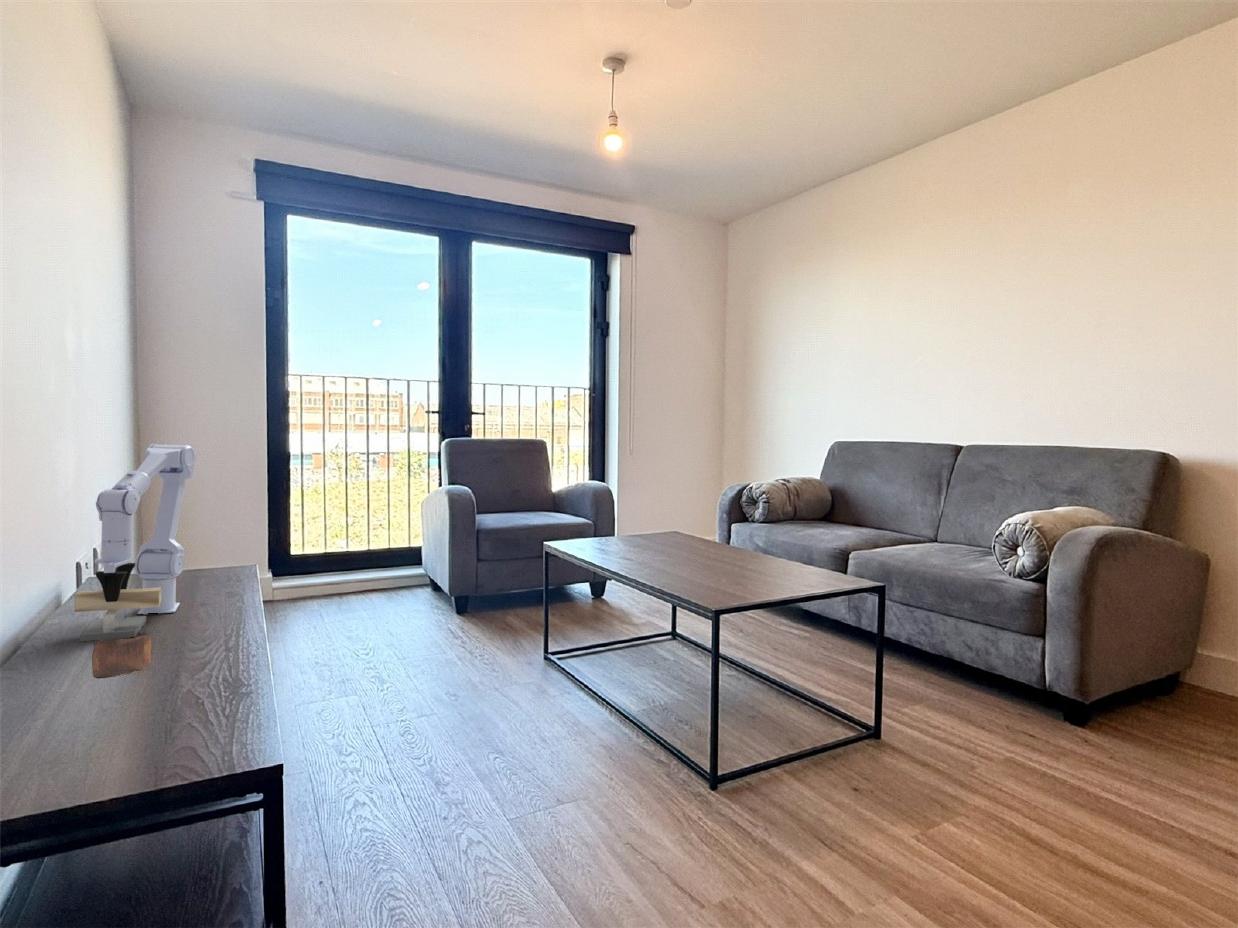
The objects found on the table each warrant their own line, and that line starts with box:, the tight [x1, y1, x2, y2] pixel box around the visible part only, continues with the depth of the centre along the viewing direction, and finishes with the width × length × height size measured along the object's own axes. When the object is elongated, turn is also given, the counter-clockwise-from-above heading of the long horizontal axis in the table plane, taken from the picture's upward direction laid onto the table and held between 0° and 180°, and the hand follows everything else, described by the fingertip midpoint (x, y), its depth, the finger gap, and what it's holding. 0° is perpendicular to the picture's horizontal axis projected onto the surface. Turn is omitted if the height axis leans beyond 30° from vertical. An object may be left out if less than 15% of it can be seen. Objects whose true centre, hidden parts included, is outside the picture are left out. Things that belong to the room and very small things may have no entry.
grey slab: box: [79, 615, 147, 642], centre depth 156 cm, size 14×10×2 cm
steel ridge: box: [102, 609, 127, 633], centre depth 156 cm, size 13×2×4 cm, turn 27°
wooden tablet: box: [92, 634, 152, 678], centre depth 139 cm, size 26×2×10 cm
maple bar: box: [73, 587, 161, 613], centre depth 156 cm, size 3×16×4 cm, turn 117°
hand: (115, 597), depth 156 cm, fingers open, 7 cm apart
